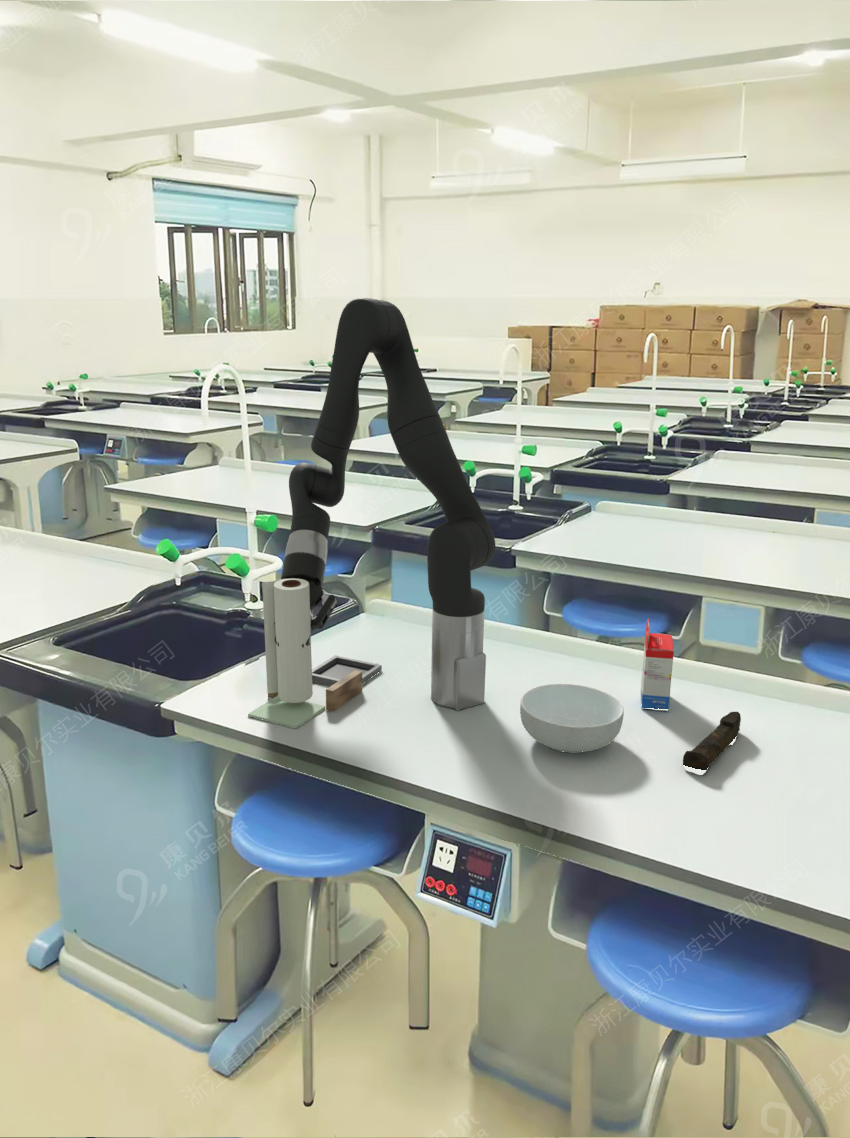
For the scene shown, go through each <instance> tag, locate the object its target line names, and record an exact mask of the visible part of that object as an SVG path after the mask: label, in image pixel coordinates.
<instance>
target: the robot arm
mask: <svg viewBox="0 0 850 1138" xmlns="http://www.w3.org/2000/svg"><path fill="white" fill-rule="evenodd" d="M370 353H371V354H373V355H374V357H375V359H376V361H377V362H378V365H379V367H380V370H381V372H382V375H383V377H384V380H385V383H386V384H385V385H386V390H387V407H386V409H387V410H386V411H387V412H386V415H387V416H386V417H387V426H388V429H389V432H390V436H391V438H392V441H393V443H394V445H395V448H396V451H397V453H398V456H399V458H400V460H401V461H402V463H403V464H404V466H405V467H406V468H407V469H408V470H409V472H410V473H411V474H412V475H413V476H414V477H415V478H416V479H417V480H418V481H419V482H420V483H421V484H422V485H423V486H424V487H425V488H426V489H427V490H428V491H429V492H430V493H431V494H432V496H433V497H434V498H435V500H436V501H437V503H438V504H439V506H440V508H441V510H442V513H443V514H444V517H445V519H446V522H443V523H441V524H438V525H437V526H436V527H434V528H433V530H432V531H431V533H430V534H429V538H428V541H427V551H426V556H427V557H426V559H427V561H426V562H427V585H428V591H429V592H428V593H429V595H430V597H431V601H432V612H431V613H432V622H431V628H432V629H431V670H430V671H431V672H430V673H431V674H430V675H431V676H430V677H431V679H430V680H431V681H430V682H431V683H430V684H431V685H430V688H431V689H430V698H431V700H432V701H433V702H434V703H435V704H437V705H439V706H442V707H446V708H452V709H454V710H455V711H460V710H463V709H466V708H467V709H468V708H470V707H474V706H477V705H480V704H484V703H485V694H486V691H485V689H486V666H487V664H486V663H487V655H486V653H485V652H484V638H485V637H484V635H485V634H484V633H485V611H486V610H485V604H486V603H485V602H486V598H485V594H484V593H483V591H481V590H479V589H477V588H473V587H472V579H471V578H472V577H471V576H472V574H471V573H472V572H471V571H475V570H477V569H480V568H483V567H485V566H486V565H488V564H490V563H491V561H492V560H493V559H494V556H495V553H496V540H495V535H494V533H493V530H492V529H493V528H491V525H490V522H489V521H488V519H487V517H486V515H485V514H484V513H485V512H484V511H483V510H482V508H481V506H480V503H479V502H478V500H477V498H476V497H475V495H474V493H473V491H472V488H471V487H470V485H469V483H468V481H467V479H466V477H465V474H464V471H463V469H462V467H461V464H460V462H459V460H458V458H457V456H456V453H455V451H454V448H453V446H452V444H451V441H450V438H449V435H448V433H447V430H446V428H445V426H444V423H443V421H442V417H441V415H440V413H439V411H438V409H437V407H436V405H435V402H434V400H433V398H432V395H431V392H430V390H429V387H428V385H427V382H426V380H425V378H424V375H423V372H422V371H421V368H420V365H419V362H418V358H417V356H416V352H415V349H414V345H413V342H412V339H411V335H410V332H409V329H408V326H407V322H406V319H405V317H404V315H403V314H402V312H401V310H400V308H398V307H397V306H396V305H395V304H394V303H392V302H390V301H388V300H387V301H386V300H383V299H376V298H369V297H357V298H353V299H352V300H350V301H349V302H347V304H346V305H345V306H344V308H343V309H342V311H341V314H340V317H339V320H338V324H337V330H336V335H335V343H334V348H333V355H332V360H331V367H330V373H329V379H328V385H327V390H326V394H325V398H324V402H323V404H322V405H323V406H322V409H321V412H320V416H319V419H318V422H317V424H316V427H315V430H314V433H313V437H312V440H311V444H310V448H311V451H312V452H313V453H314V454H315V455H317V457H320V458H322V459H324V460H325V461H327V462H328V463H330V465H331V469H330V468H327V467H323V466H320V465H319V466H318V465H315V464H313V463H310V462H300V463H297V464H296V465H295V466H294V467H293V468H292V469H291V471H290V474H289V478H288V490H289V496H290V501H291V503H290V504H291V512H292V513H291V514H292V515H291V516H292V518H291V524H290V530H289V537H288V540H287V543H286V547H285V552H284V558H283V564H282V570H281V577H280V579H290V578H296V579H303V580H306V581H308V582H309V593H310V626H311V635H312V632H313V631H314V630H317V629H319V630H321V629H323V628H324V627H325V625H326V623H328V620H329V618H330V617H331V615H332V613H333V611H334V610H335V608H336V607H337V605H338V603H337V599H336V596H335V595H334V594H330V595H328V594H326V593H325V592H324V590H323V588H324V587H323V585H324V578H325V573H326V572H325V571H326V566H327V561H328V541H329V534H330V528H331V517H330V515H329V513H328V512H327V511H326V510H325V509H324V508H322V507H327V508H333V507H335V506H337V505H339V503H340V502H341V501H342V500H343V497H344V495H345V488H346V487H345V486H346V485H345V484H346V480H345V479H346V466H347V458H348V456H349V455H348V454H349V451H350V447H351V446H352V442H353V439H354V435H355V434H356V430H357V427H358V424H359V418H360V398H359V394H360V393H359V389H360V388H359V386H360V385H359V384H360V380H361V379H360V377H361V374H362V369H363V368H364V365H365V362H366V360H367V358H368V356H369V354H370ZM318 505H319V506H318ZM320 506H322V507H320ZM260 597H261V600H262V601H263V592H261V595H260ZM320 602H321V604H322V607H321V609H320V610H319V612H318V613H317V615H316V616H315V618H313V617H314V615H313V610H314V609H315V607H316V606H318V604H319V603H320ZM274 624H275V623H274ZM309 640H310V635H309V639H308V640H307V642H306V645H307V646H308V645H310V643H309ZM275 643H276V644H277V641H276V635H275ZM278 646H279V643H278ZM302 647H303V648H304V643H303V644H302Z"/></svg>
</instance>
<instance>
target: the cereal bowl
mask: <svg viewBox="0 0 850 1138" xmlns="http://www.w3.org/2000/svg"><path fill="white" fill-rule="evenodd" d="M519 706H520V708H519V713H520V720H521V723H522V725H523V728H524V730H525V731H526V732H527V733H528V734H529V736H530V737H532V738H533V739H534V740H536V741H537V742H538V743H540V744H541V745H544V746H547V747H548V748H550V749H552V748H553V749H552V750H554V749H555V751H557V750H558V751H557V752H560V751H564V752H563V753H565V752H581V753H585V752H592V751H596V750H599V749H601V748H603V747H606V746H607V745H609V744H610V743H612V742H613V741H614V740H615V739H616V738H617V736H618V735H619V734H620V732H621V729H622V726H623V720H624V714H625V713H624V705H623V704H622V702H621V701H620V700H619V699H617V698H616V696H613V695H612V694H609V693H607V692H605V691H602V690H600V689H598V688H595V687H589V686H585V685H579V684H571V683H551V684H543V685H540V686H536V687H533V688H531V689H529V690H527V691H526V692H525V693H523V695H522V697H521V700H520V705H519ZM582 751H583V752H582ZM584 751H585V752H584Z"/></svg>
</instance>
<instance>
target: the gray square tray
mask: <svg viewBox="0 0 850 1138" xmlns="http://www.w3.org/2000/svg"><path fill="white" fill-rule="evenodd" d="M382 666H383V665H382V664H379V663H373V662H369V661H364V660H359V659H354V658H350V657H345V656H339V655H333V656H332V657H330V658H328V659H327V660H326V661H324V662H322V663H321V664H319V665H317V666H315V667H314V668H312V682H316V683H318V684H319V683H320V684H325V685H328V686H332V685H333V684H335V683H336V682H338V681H339V680H341V679H342V678H344V677H345V676H347V675H348V674H350V673H351V672H353V671H354V670H357V671H362V685H364V684H365V683H366V682H368V681H369V680H371V679H372V678H373V677H372V676H374V675H375V674H376V675H378V674H379V673H381V672H382V671H381V670H382V669H383V668H382ZM380 671H381V672H380ZM378 672H379V673H378ZM377 673H378V674H377ZM376 675H375V676H376ZM375 676H374V677H375ZM371 677H372V678H371ZM370 678H371V679H370ZM368 679H369V680H368ZM367 680H368V681H367ZM364 682H365V683H364ZM363 683H364V684H363Z"/></svg>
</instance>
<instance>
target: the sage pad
mask: <svg viewBox="0 0 850 1138" xmlns="http://www.w3.org/2000/svg"><path fill="white" fill-rule="evenodd" d="M322 710H323V711H324V710H326V705H322V704H317V703H313V702H309V701H304V702H300V703H287V702H284V701H282V700H281V699H279V695H278V696H276V697H274V698H273V697H272V698H271V699H270V700H267V702H265V703H263V704H261V705H260V706H258V707H257V708H255V709H253V710H252V711H250V712H248V713H247V716H249V718H252V717H254V718H253V719H256V718H258V719H257V720H260V719H263V720H262V721H264V720H266V721H265V722H268V721H270V722H269V723H271V722H273V723H272V724H275V723H277V724H276V725H279V724H282V725H281V726H283V725H285V726H284V727H287V726H288V727H287V728H291V727H293V728H292V729H295V728H297V727H298V728H300V727H301V726H302V724H303V723H304V724H306V723H307V722H308V721H310V720H311V719H312V717H313V716H314V717H315V715H316V714H317V715H318V714H320V713H321V712H323V711H322ZM317 715H316V716H317ZM314 717H313V718H314ZM309 719H310V720H309ZM306 721H307V722H306ZM304 724H303V725H304ZM300 725H301V726H300ZM299 726H300V727H299ZM298 728H297V729H298Z"/></svg>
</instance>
